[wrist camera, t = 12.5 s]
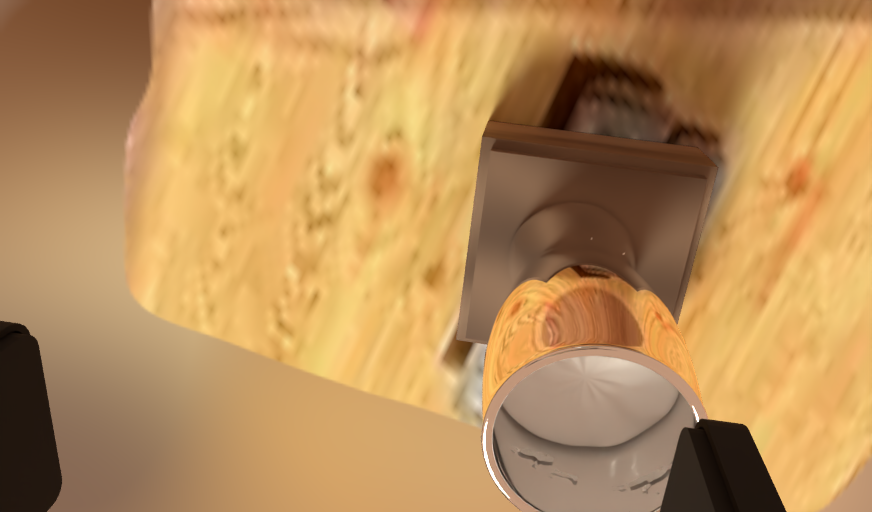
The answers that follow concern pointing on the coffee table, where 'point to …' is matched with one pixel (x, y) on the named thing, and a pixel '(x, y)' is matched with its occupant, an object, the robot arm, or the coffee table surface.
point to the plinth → (587, 183)
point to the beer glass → (583, 372)
